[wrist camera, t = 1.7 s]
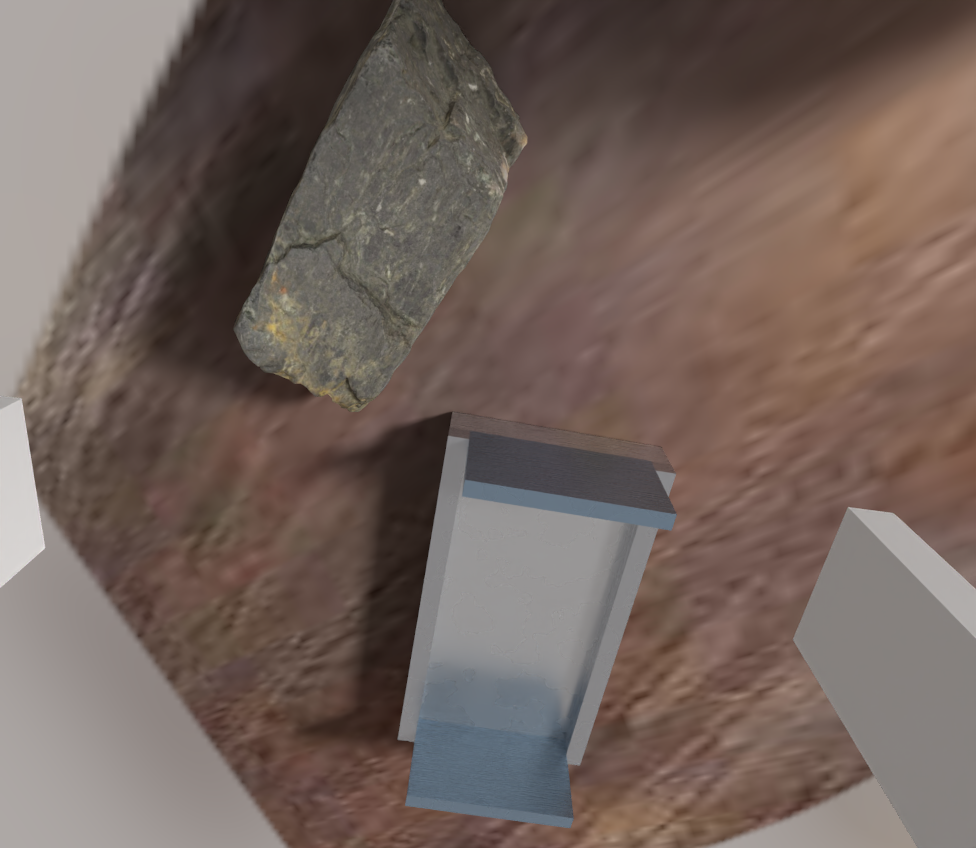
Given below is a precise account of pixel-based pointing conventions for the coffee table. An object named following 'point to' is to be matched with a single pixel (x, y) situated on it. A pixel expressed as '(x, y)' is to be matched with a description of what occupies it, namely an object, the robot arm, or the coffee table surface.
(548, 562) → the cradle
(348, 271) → the rock
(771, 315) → the coffee table surface
